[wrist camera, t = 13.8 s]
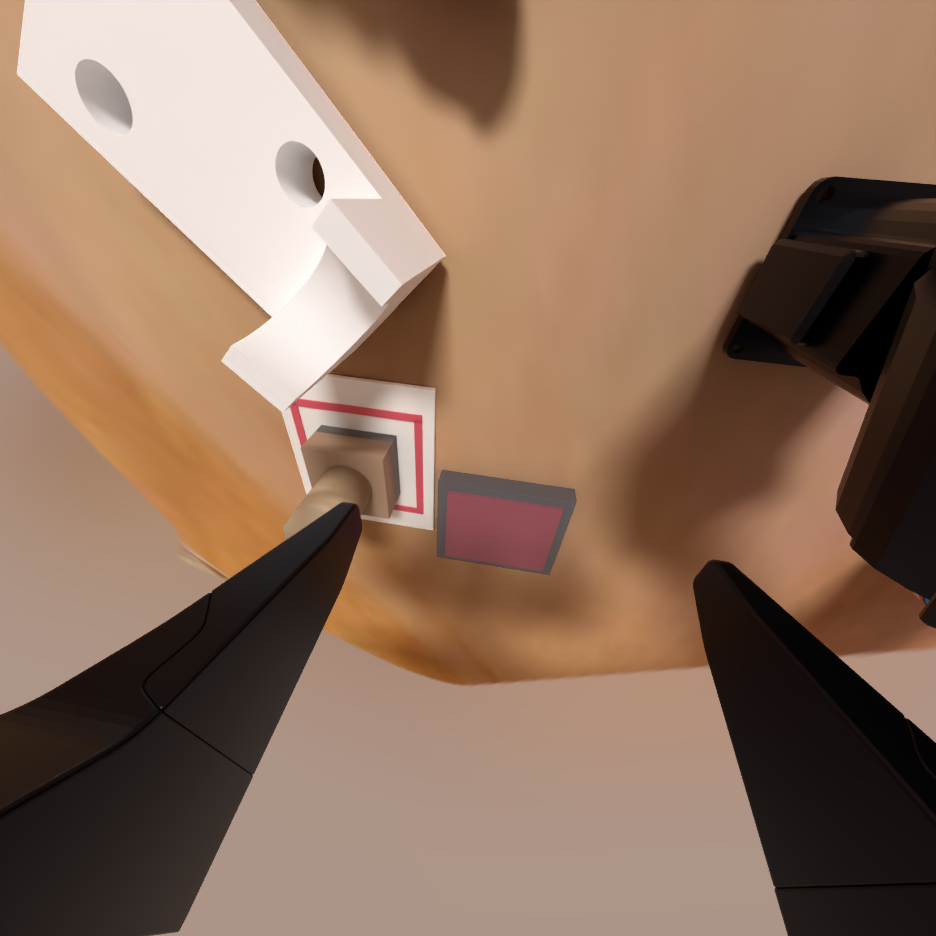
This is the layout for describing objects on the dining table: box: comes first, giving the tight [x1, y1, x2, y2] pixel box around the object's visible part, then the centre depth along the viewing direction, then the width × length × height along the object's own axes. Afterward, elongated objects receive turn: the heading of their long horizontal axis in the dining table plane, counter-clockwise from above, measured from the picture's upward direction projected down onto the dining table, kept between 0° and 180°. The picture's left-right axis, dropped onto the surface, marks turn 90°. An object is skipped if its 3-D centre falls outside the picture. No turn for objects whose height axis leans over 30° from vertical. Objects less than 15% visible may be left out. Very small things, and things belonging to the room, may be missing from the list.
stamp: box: [283, 425, 400, 539], centre depth 21 cm, size 5×5×7 cm
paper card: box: [282, 374, 436, 530], centre depth 24 cm, size 10×12×1 cm
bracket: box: [17, 0, 446, 413], centre depth 12 cm, size 13×7×8 cm, turn 41°
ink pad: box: [437, 470, 576, 575], centre depth 25 cm, size 9×8×2 cm
